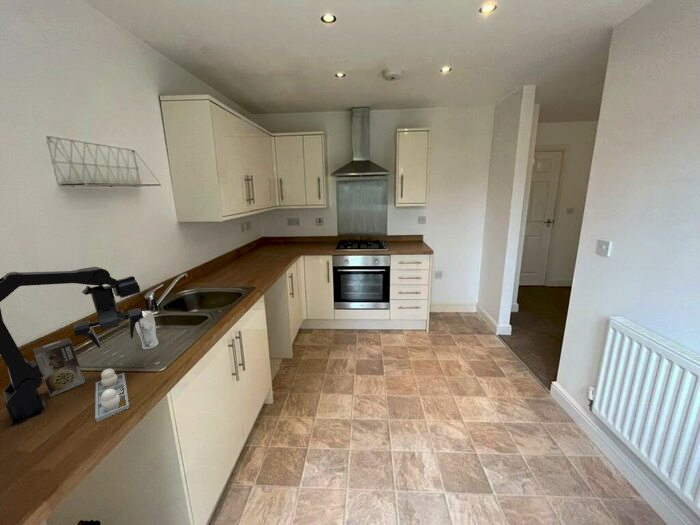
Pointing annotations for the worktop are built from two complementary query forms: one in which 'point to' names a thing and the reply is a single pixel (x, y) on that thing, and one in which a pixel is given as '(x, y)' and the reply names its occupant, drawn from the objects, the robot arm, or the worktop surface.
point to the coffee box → (59, 366)
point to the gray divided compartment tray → (121, 382)
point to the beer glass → (147, 330)
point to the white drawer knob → (110, 400)
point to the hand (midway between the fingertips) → (116, 342)
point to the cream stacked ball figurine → (109, 378)
